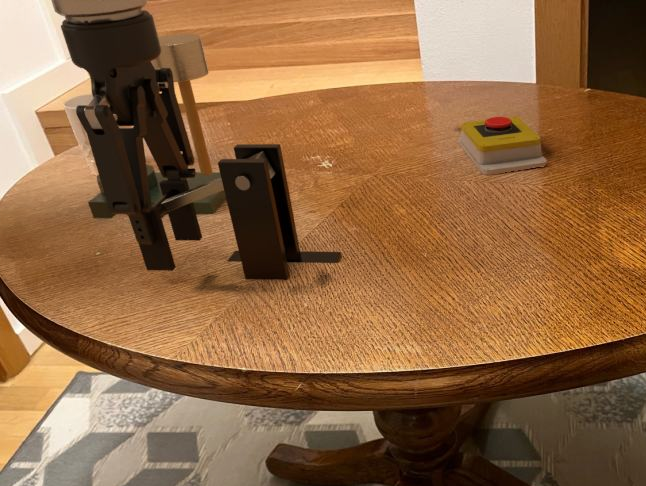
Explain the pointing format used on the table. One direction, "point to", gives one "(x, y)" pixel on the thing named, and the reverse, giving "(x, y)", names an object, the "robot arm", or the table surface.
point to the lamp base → (154, 178)
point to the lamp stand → (187, 82)
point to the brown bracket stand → (263, 214)
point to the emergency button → (501, 145)
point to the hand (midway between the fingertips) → (175, 252)
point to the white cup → (79, 130)
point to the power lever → (197, 191)
